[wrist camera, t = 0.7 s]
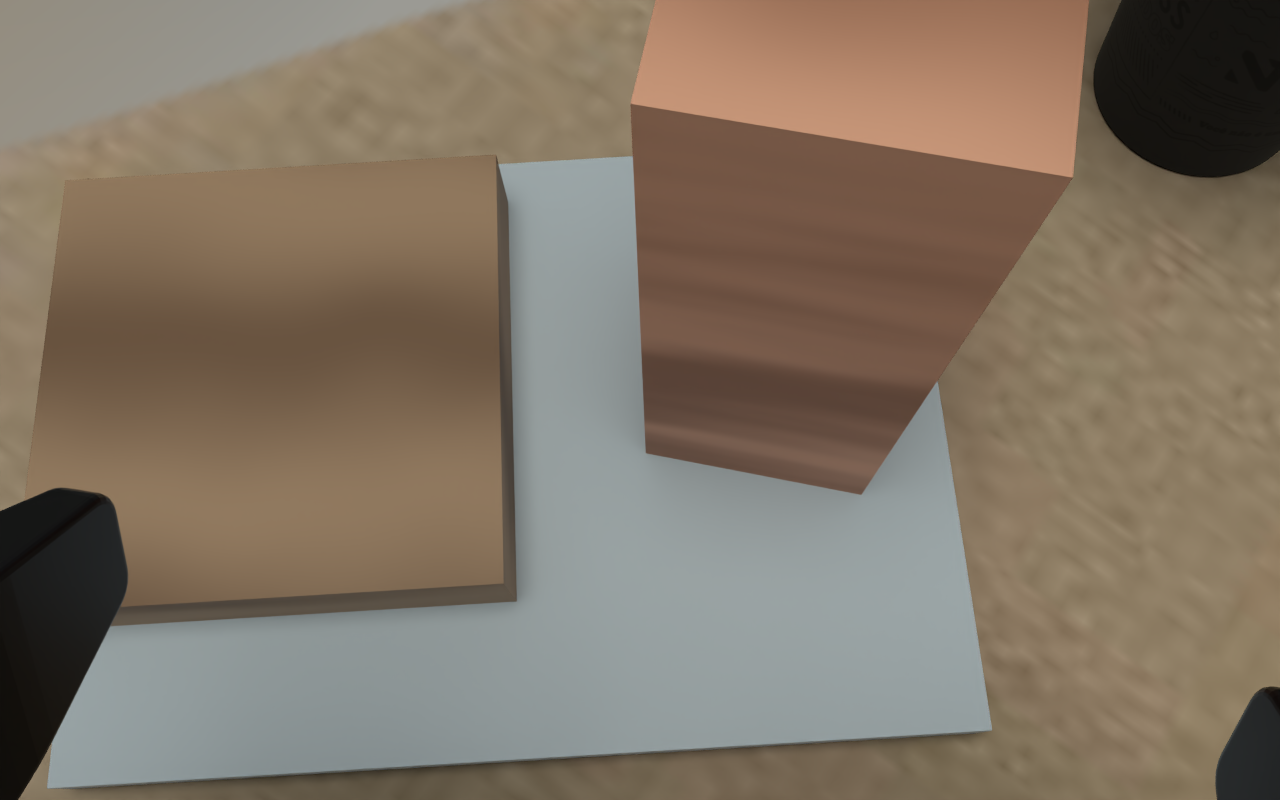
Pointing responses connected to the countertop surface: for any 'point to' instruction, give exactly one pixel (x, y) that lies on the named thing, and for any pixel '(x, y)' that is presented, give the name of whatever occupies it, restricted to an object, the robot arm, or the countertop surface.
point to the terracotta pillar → (834, 212)
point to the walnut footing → (288, 385)
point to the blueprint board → (581, 585)
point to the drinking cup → (1194, 82)
